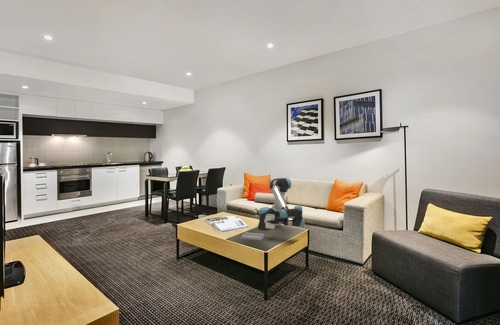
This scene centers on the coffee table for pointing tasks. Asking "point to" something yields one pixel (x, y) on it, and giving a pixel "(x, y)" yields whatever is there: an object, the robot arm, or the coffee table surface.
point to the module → (270, 217)
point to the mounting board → (253, 236)
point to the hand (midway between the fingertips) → (265, 220)
